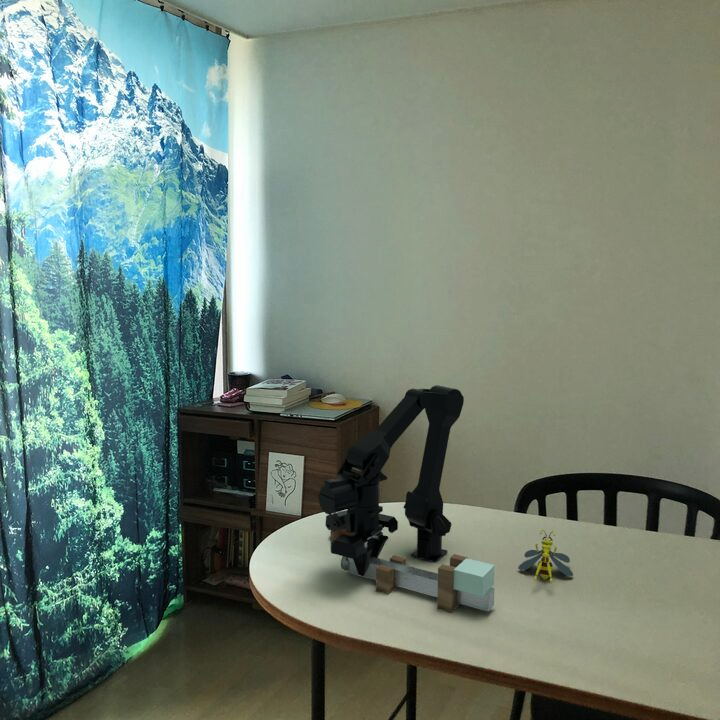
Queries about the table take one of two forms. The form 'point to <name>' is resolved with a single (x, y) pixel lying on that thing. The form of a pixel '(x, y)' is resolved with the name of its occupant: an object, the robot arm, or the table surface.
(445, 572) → the bearing
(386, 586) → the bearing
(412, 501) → the robot arm
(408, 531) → the table surface
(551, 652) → the table surface
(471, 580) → the block
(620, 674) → the table surface
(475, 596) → the shaft
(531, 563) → the toy
